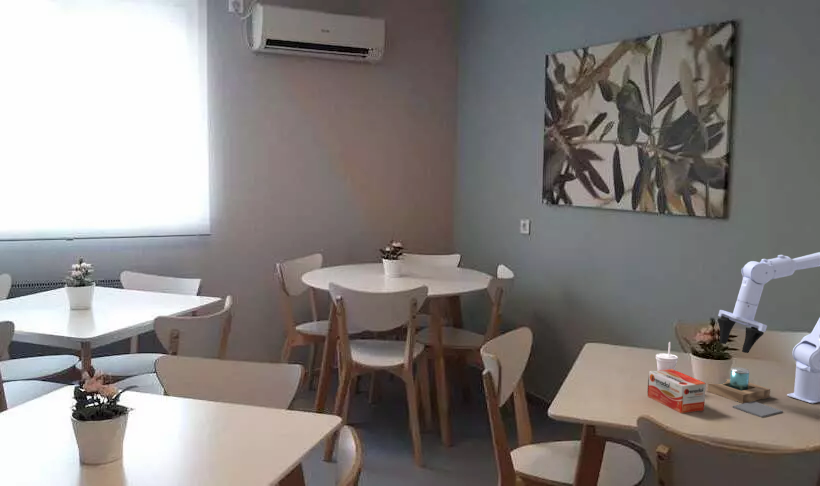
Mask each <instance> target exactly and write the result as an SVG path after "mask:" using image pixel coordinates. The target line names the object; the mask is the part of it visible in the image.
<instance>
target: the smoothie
mask: <svg viewBox="0 0 820 486" xmlns="http://www.w3.org/2000/svg"><path fill="white" fill-rule="evenodd" d="M671 344H672V343H671V341H669V342H668V350H667V353H664V352H662V353H656V354H655V359H656V365H657V370H656V371H658V370H668V369H673V370H676V369H677V368H676V367H677V364H678V363H677V362H678V361H679V357H678V356H677V355H675V354H672V353H671Z"/></svg>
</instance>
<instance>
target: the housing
mask: <svg viewBox="0 0 820 486" xmlns="http://www.w3.org/2000/svg"><path fill="white" fill-rule="evenodd" d="M726 380H727V381H726V382H725V383H723V384H707V392H708V393H711V394H715V395H716V396H720V397H723V398H726V399H728V400H731V401H734V402H737V401H738V403H740V404H744V403H748V402H753V401H755V402H757V401H759V400H764V399H768V398H770V396H771V388H768V387H766V386H765V387H764V386H762V385H758V384H755V383H752V382H749V383H748V390H743V391H740V390H737V389H734V388H731V387H730V378H728V379H726Z"/></svg>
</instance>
